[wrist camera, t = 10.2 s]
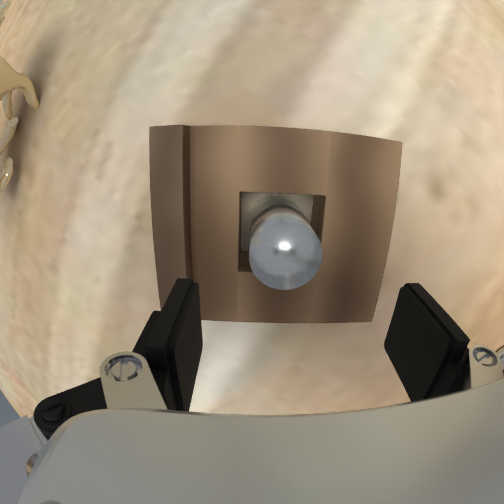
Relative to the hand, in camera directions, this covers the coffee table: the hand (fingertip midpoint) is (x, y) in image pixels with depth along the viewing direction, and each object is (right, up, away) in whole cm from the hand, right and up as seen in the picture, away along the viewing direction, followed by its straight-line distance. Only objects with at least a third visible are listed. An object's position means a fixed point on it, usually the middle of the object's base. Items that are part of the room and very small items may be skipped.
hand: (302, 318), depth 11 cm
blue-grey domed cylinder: (0, +5, +13) cm, 14 cm away
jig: (0, +5, +13) cm, 14 cm away
